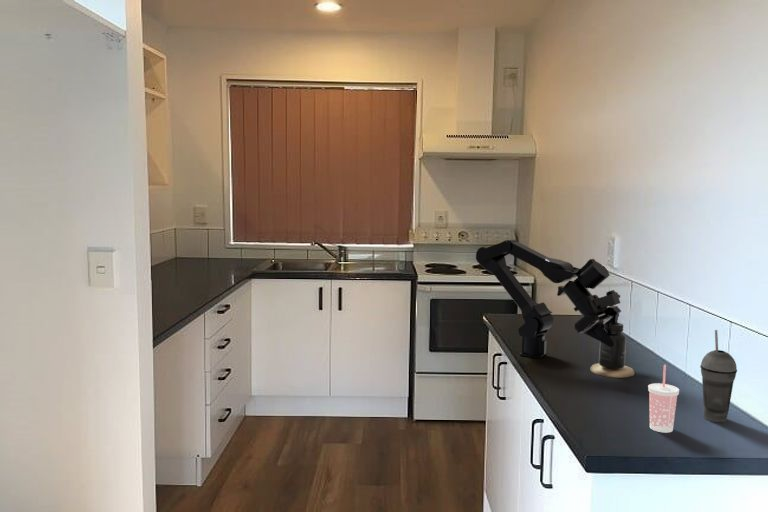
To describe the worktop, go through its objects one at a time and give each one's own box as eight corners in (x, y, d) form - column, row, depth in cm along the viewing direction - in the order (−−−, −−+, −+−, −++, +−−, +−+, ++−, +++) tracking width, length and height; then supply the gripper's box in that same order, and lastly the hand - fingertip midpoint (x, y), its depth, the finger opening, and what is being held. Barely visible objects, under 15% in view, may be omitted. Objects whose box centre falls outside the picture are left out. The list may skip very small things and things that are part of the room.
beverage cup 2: (719, 427, 137) (726, 336, 134) (689, 416, 143) (695, 329, 141) (740, 421, 140) (747, 332, 138) (710, 410, 146) (716, 326, 144)
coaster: (586, 373, 174) (586, 370, 174) (594, 363, 184) (594, 360, 184) (631, 380, 169) (631, 377, 169) (637, 369, 179) (637, 366, 179)
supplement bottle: (628, 369, 173) (631, 326, 172) (604, 369, 173) (606, 326, 171) (618, 362, 180) (621, 321, 178) (594, 362, 180) (597, 320, 178)
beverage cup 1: (666, 422, 139) (670, 360, 137) (682, 433, 133) (687, 368, 131) (640, 423, 138) (643, 361, 137) (655, 434, 132) (659, 369, 131)
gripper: (587, 285, 169) (626, 333, 163) (616, 277, 183) (652, 321, 177) (559, 309, 176) (595, 356, 170) (588, 300, 189) (623, 343, 183)
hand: (617, 343), depth 175 cm, fingers closed on supplement bottle, 7 cm apart
